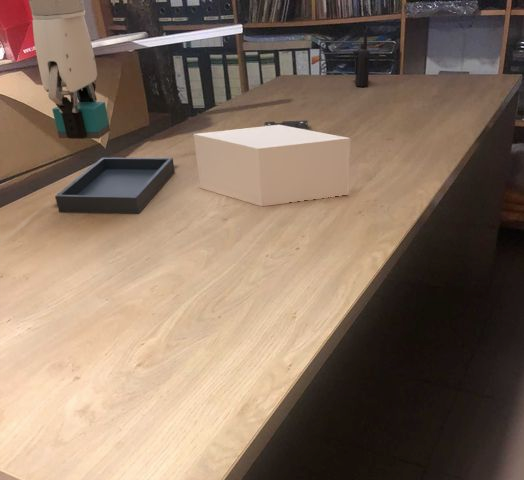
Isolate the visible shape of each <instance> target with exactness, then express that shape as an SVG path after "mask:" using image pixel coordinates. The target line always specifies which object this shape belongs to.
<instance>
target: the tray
mask: <svg viewBox="0 0 524 480" xmlns="http://www.w3.org/2000/svg"><path fill="white" fill-rule="evenodd" d="M175 173H176V172H175V164H174V158H173V157H100V158H99V159H98V160H97V161H96V162H95V163H93V164H92V165H91V166H90V167H88V168H87V169H86V170H85V171H83V172H82V173H81V174H80V175H79V176H78V177H76V178H75V179H74V180H73V181H72V182H70V183H69V184H68V185H66V186H65V187H64V188H63V189H62V190H61V191H59V192H58V193H57V194H55V195H54V196H55V201H56V206H57V209H58V212H60V213H92V214H93V213H95V214H96V213H98V214H101V213H102V214H131V215H133V214H135V215H136V214H137V215H139V214H140V213H141V212H142V211H143V210H144V208H146V206H147V205H148V204H149V203H150V202H151V200H152V199H153V198H154V197H155V196H156V195H157V194H158V192H159V191H160V190H161V189H162V188H163V187H164V185H165V184H166V183H167V182H168V181H169V180H170V179H171V177H173V175H174V174H175Z"/></svg>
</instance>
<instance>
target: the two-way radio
mask: <svg viewBox="0 0 524 480" xmlns="http://www.w3.org/2000/svg"><path fill="white" fill-rule="evenodd" d="M352 51H353V52H352V55H353V58H354V74H355V81H354V82H355V84H354V85H355V86H357V87H360V88H367V87H368V86H369V76H370V75H369V74H370V71H369V70H370V53H371V52H370V50H369V49H368V30H367V29H365V30H364V31H363V42H362V43H360V48H358V49H357V50H352Z"/></svg>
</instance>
